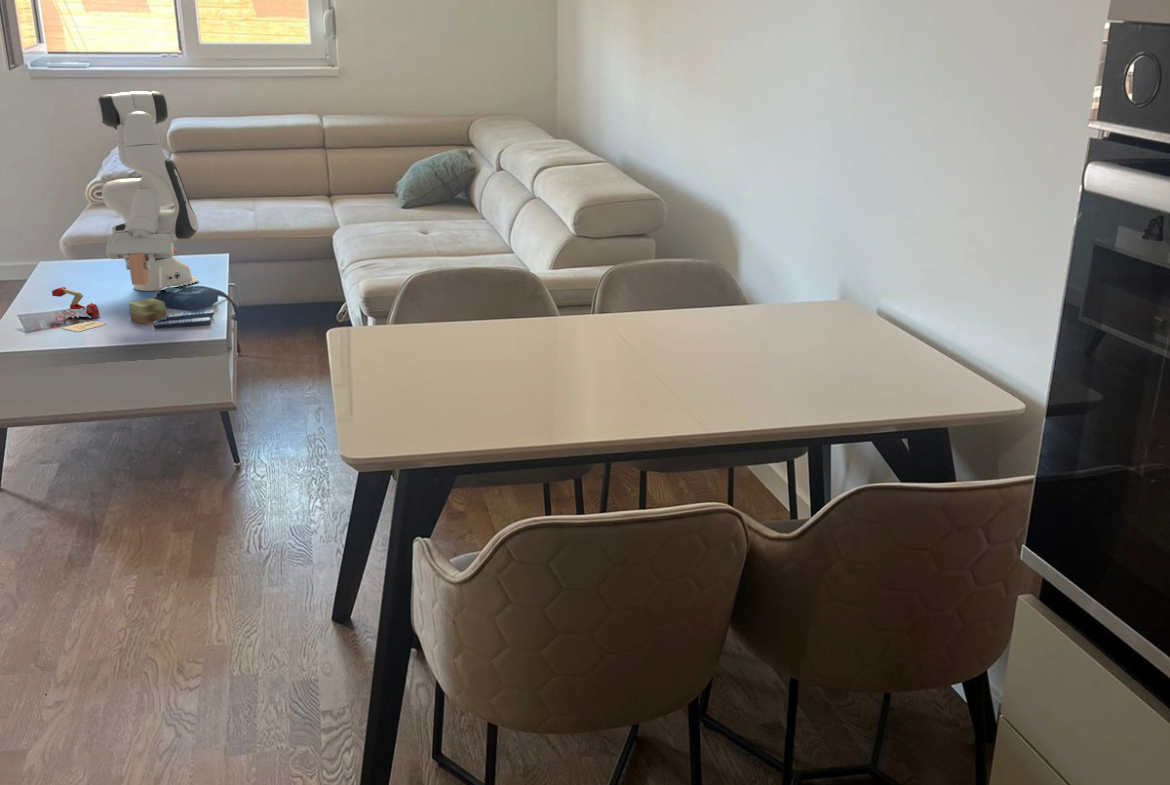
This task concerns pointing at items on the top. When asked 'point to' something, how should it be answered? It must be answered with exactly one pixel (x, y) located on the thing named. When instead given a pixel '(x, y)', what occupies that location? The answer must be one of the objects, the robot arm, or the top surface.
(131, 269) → the terracotta column block
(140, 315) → the tower base
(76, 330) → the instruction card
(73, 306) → the toy fire truck
